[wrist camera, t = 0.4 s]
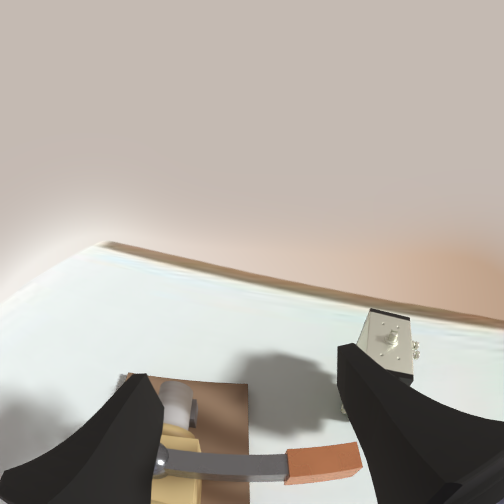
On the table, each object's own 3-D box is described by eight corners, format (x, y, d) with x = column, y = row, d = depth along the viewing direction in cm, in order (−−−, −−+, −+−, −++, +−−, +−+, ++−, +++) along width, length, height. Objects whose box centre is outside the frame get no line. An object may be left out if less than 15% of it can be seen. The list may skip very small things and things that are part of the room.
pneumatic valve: (326, 440, 24) (366, 373, 19) (344, 365, 34) (373, 292, 28) (373, 450, 23) (429, 386, 17) (383, 374, 32) (419, 303, 27)
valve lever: (136, 475, 14) (127, 466, 13) (141, 447, 16) (134, 435, 15) (352, 478, 15) (363, 469, 14) (346, 450, 17) (355, 439, 16)
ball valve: (251, 605, 7) (259, 622, 4) (85, 575, 7) (43, 572, 3) (247, 389, 30) (251, 347, 27) (130, 378, 30) (115, 335, 26)
